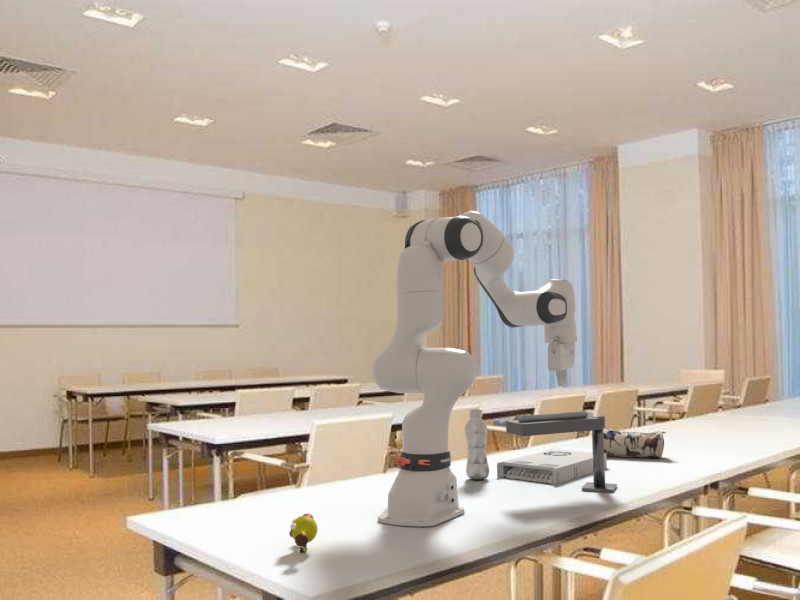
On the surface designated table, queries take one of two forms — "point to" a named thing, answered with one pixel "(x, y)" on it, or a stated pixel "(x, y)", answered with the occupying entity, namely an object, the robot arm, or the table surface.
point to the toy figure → (303, 530)
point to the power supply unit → (548, 466)
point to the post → (598, 466)
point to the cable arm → (554, 423)
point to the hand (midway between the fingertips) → (561, 385)
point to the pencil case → (633, 444)
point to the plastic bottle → (476, 446)
